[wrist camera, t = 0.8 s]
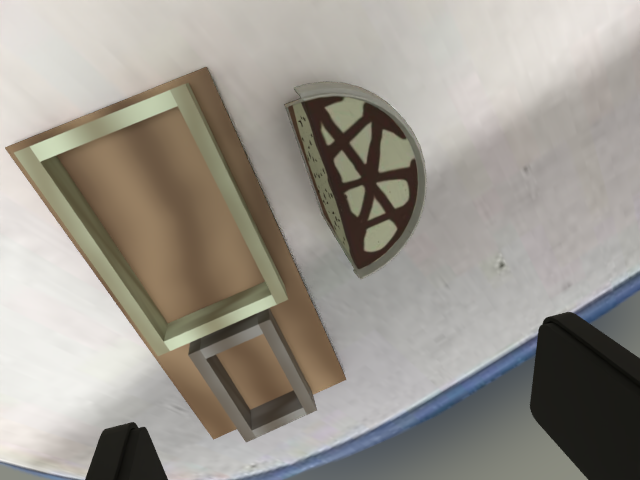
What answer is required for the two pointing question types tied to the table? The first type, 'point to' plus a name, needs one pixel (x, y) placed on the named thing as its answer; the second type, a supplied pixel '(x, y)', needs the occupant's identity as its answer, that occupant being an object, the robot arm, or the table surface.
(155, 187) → the fitting board
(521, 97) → the table surface
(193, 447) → the table surface
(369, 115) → the food container
